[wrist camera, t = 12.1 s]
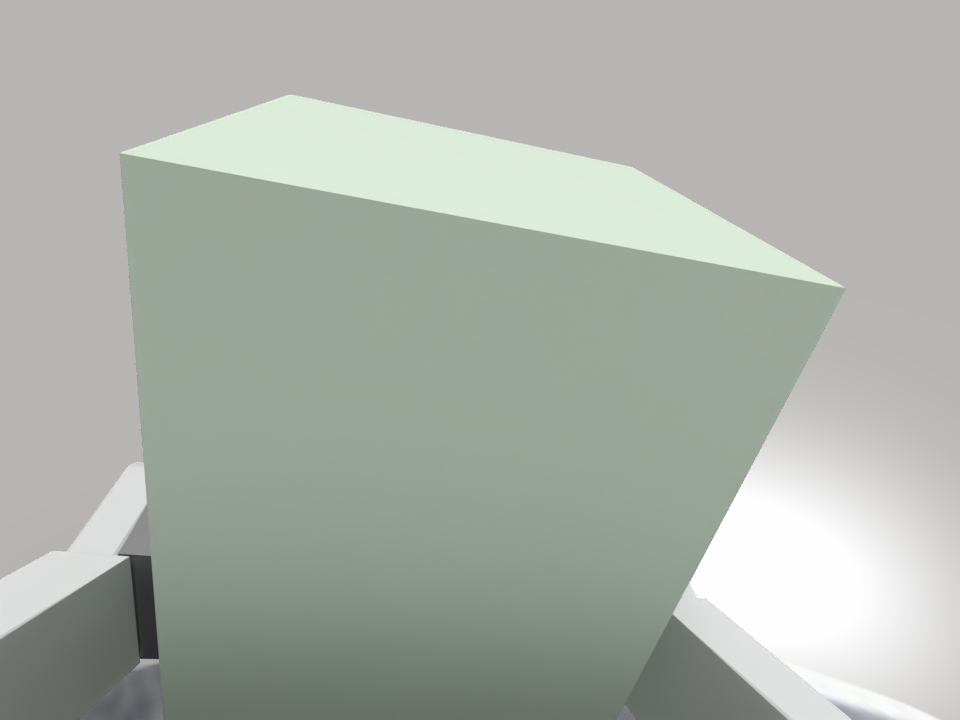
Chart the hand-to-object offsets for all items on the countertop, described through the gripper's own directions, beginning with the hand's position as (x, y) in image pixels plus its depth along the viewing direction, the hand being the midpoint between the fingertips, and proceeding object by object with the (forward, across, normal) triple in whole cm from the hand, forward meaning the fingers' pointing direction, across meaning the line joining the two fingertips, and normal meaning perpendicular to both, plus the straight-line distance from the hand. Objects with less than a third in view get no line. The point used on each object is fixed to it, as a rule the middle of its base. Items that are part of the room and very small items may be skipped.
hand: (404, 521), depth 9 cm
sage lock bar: (-1, 0, +8) cm, 9 cm away
